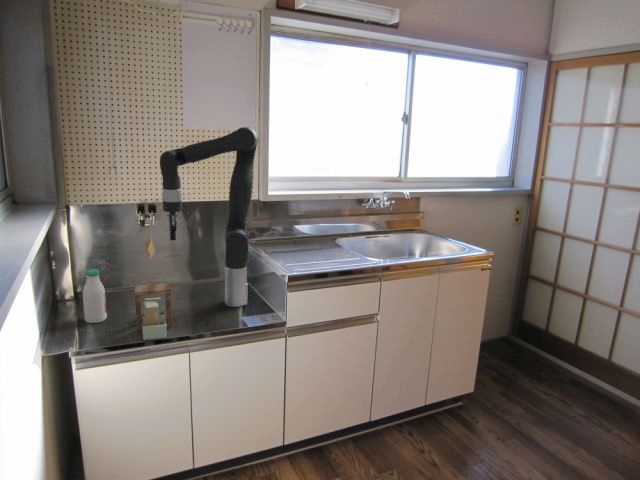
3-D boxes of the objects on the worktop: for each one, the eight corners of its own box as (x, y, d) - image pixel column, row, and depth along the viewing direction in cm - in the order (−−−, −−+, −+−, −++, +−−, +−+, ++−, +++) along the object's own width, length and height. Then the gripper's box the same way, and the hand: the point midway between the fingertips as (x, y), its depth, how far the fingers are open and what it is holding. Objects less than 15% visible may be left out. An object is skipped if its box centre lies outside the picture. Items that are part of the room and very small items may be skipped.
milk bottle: (103, 323, 175) (100, 274, 170) (81, 323, 174) (77, 273, 168) (109, 315, 182) (106, 267, 177) (88, 315, 181) (84, 267, 176)
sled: (164, 314, 185) (163, 297, 183) (167, 337, 167) (166, 319, 165) (142, 316, 182) (141, 298, 181) (143, 340, 164) (142, 321, 162)
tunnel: (170, 320, 181) (169, 283, 177) (171, 328, 175) (170, 289, 171) (136, 323, 176) (135, 285, 172) (136, 331, 170) (134, 292, 166)
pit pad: (163, 312, 188) (163, 311, 187) (164, 318, 183) (164, 317, 182) (142, 314, 185) (142, 313, 185) (142, 320, 180) (142, 319, 180)
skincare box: (144, 331, 171) (142, 301, 167) (156, 329, 173) (155, 299, 170) (147, 339, 165) (146, 307, 162) (160, 336, 168) (159, 305, 164)
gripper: (182, 202, 185) (183, 243, 190) (180, 196, 197) (180, 235, 201) (163, 202, 182) (164, 244, 187) (161, 196, 194) (162, 236, 199)
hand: (172, 239), depth 194 cm, fingers closed
